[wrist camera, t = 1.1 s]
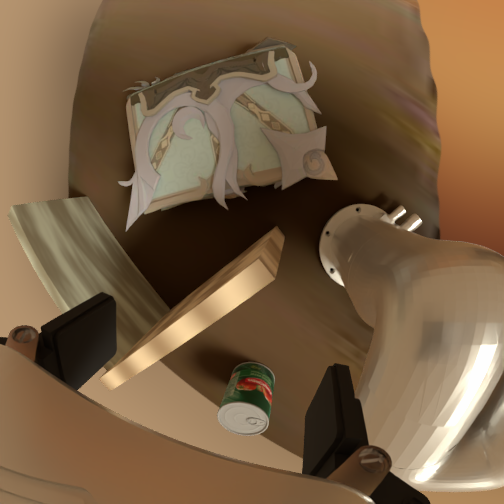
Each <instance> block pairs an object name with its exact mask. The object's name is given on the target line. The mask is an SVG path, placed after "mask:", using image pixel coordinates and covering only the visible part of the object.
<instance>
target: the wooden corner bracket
mask: <svg viewBox="0 0 504 504" xmlns="http://www.w3.org/2000/svg"><path fill="white" fill-rule="evenodd" d="M8 217H9V220H10V222H11V224H12V226H13V228H14V230H15V233H16V235H17V237H18V239H19V241H20V243H21V245H22V247H23V249H24V251H25V253H26V254H27V257H28V258H29V260H30V262H31V264H32V266H33V268H34V269H35V271H36V273H37V274H38V276H39V278H40V280H41V281H42V283H43V285H44V286H45V288H46V290H47V291H48V293H49V294H50V296H51V297H52V299H53V300H54V302H55V303H56V305H57V306H58V308H59V309H60V311H61V312H62V314H63V313H65V312H67V311H69V310H70V309H72V308H74V307H76V306H77V305H79V304H81V303H83V302H84V301H86V300H88V299H90V298H91V297H93V296H95V295H97V294H99V293H100V292H104V293H106V294H109V295H111V296H113V297H114V300H115V301H116V332H117V352H116V354H115V355H114V357H112V358H111V359H110V360H109V361H108V362H107V363H106V364H105V365H104V366H103V367H104V368H105V369H106V370H107V371H106V372H105V373H104V374H103V375H102V376H101V377H100V378H99V380H100V381H101V382H102V383H103V384H104V385H105V386H106V387H107V388H108V390H110V391H111V390H112V389H114V388H115V387H117V386H119V385H120V384H122V383H123V382H125V381H127V380H128V379H130V378H131V377H133V376H134V375H136V374H138V373H139V372H141V371H142V370H144V369H145V368H147V367H148V366H150V365H152V364H153V363H155V362H156V361H158V360H159V359H161V358H162V357H164V356H165V355H167V354H168V353H170V352H171V351H173V350H174V349H176V348H177V347H179V346H180V345H182V344H183V343H185V342H186V341H188V340H189V339H191V338H192V337H194V336H195V335H196V334H198V333H199V332H201V331H202V330H204V329H205V328H207V327H208V326H210V325H211V324H212V323H214V322H215V321H217V320H218V319H220V318H221V317H223V316H224V315H225V314H227V313H228V312H230V311H231V310H233V309H234V308H235V307H237V306H238V305H240V304H241V303H242V302H244V301H245V300H247V299H248V298H249V297H251V296H252V295H254V294H255V293H256V292H258V291H259V290H261V289H262V288H263V287H265V286H266V285H268V284H269V283H270V282H272V281H273V280H274V279H275V277H276V273H277V269H278V265H279V261H280V256H281V252H282V248H283V244H284V239H285V236H284V234H283V233H282V232H281V231H280V229H279V228H278V227H277V226H276V227H274V228H273V229H272V230H270V231H269V232H268V233H267V234H265V235H264V236H263V237H262V238H260V239H259V240H258V241H257V242H255V243H254V244H253V245H251V246H250V247H249V248H248V249H246V250H245V251H244V252H243V253H241V254H240V255H239V256H237V257H236V258H235V259H234V260H232V261H231V262H230V263H229V264H227V265H226V266H225V267H224V268H222V269H221V270H220V271H219V272H217V273H216V274H215V275H213V276H212V277H211V278H210V279H208V280H207V281H206V282H205V283H203V284H202V285H201V286H200V287H198V288H197V289H196V290H195V291H193V292H192V293H191V294H190V295H188V296H187V297H186V298H185V299H183V300H182V301H181V302H179V303H178V304H177V305H176V306H174V307H173V308H172V309H171V310H170V308H169V307H168V306H167V305H166V304H165V302H164V301H163V300H162V299H161V297H160V296H159V295H158V294H157V293H156V291H155V290H154V289H153V288H152V286H151V285H150V284H149V283H148V281H147V280H146V279H145V277H144V276H143V275H142V274H141V272H140V271H139V270H138V268H137V267H136V266H135V264H134V263H133V262H132V260H131V259H130V258H129V256H128V255H127V254H126V252H125V251H124V250H123V248H122V247H121V246H120V244H119V243H118V241H117V240H116V239H115V237H114V236H113V234H112V233H111V231H110V230H109V229H108V227H107V226H106V224H105V223H104V221H103V220H102V218H101V217H100V215H99V214H98V212H97V211H96V209H95V208H94V206H93V205H92V203H91V202H90V200H89V198H88V197H77V198H68V199H59V200H50V201H43V202H35V203H28V204H21V205H14V206H12V207H11V209H10V211H9V214H8Z"/></svg>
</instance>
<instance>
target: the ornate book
mask: <svg viewBox="0 0 504 504" xmlns="http://www.w3.org/2000/svg"><path fill="white" fill-rule="evenodd" d="M295 47H296V46H295V45H293V44H290V43H288V42H284V41H281V40H277V39H273V38H269V37H267V38H265V39H264V40H262V41H261V42H259V43H258V44H257V45H256V46H254V47H253V48H251V49H249V50H247V51H246V52H245V54H240V55H237V56H233V57H229V58H226V59H222V60H218V61H215V62H212V63H209V64H206V65H202V66H199V67H196V68H193V69H190V70H188V71H187V70H185V72H184V71H182V72H179V73H175V74H173V75H174V76H171V77H169V78H166V79H164V81H162V82H160V79H159V78H157V77H155V78H156V81H154V82H152V83H151V84H152V86H150V85H149V83H148V82H146V81H136V82H140V83H142V86H145V87H131V88H128V89H126V90H131V89H133V90H135V91H136V90H139V89H141V90H140V91H136V92H134V93H132V94H130V95H128V96H127V99H128V98H129V100H128V102H127V105H126V112H127V120H128V128H129V135H130V141H131V148H132V154H133V160H134V166H135V173H134V175H133V177H132V178H131V180H130V181H127V182H125V181H118V183H119V184H120V185H122V186H129V185H131V184H132V183H133V186H132V195H131V202H130V208H129V214H128V220H127V227H126V231H127V230H128V229H129V227H130V226H131V225H132V224H133V223H134V222H135V221H136V219H137V218H138V217H139V216H140V215H141V214H142V213H143V212H144V214H148V213H151V212H154V211H156V210H159V209H161V211H164V210H167V209H170V208H173V207H175V206H178V205H181V204H184V203H187V202H191V201H197V200H203V199H209V198H214V197H215V199H216V200H217V202H218V203H219V204H220V205H222V206H223V207H224V208H226V209H227V210H228V208H227V206H226V203H225V201H224V200H225V198H228V199H231V198H236V197H239V196H241V197H243V198H245V199H247V198H246V197H245V196H244V195H243V194H242V193H245V192H246V191H244V187H248V186H253V185H256V186H263V187H264V186H267V185H271V184H274V183H275V185H274V188H275V189H276V188H277V187H279V186H280V185H282V190H284V189H285V188H287V187H289V186H291V185H293V184H295V183H296V182H298V181H300V180H302V179H304V178H306V177H309V178H313V179H323V180H338V179H337V176H336V174H335V172H334V169H333V167H332V165H331V163H330V160H329V158H328V157H327V155H326V154H325V153H324V151H325V141H326V126H324V127H321V128H318V129H317V125H316V121H315V117H314V113H313V111H314V112H316V113H319V114H321V112H320V111H319V109H318V108H317V106H316V105H315V103H314V102H313V100H312V99H311V97H310V96H309V95H308V92H307V89H309V88H310V87H312V86H313V84H314V83H315V81H316V79H317V71H316V69H315V66H314V65H313V64H312V63H311V62H310V61H309V64H310V67H311V70H312V74H313V75H312V77H311V78H310V80H309V81H307V82H306V83H305V82H304V78H303V75H302V72H301V69H300V66H299V62H298V59H297V56H296V54H295V53H293V52H292V51H291V50H292V49H293V48H295ZM126 90H124V91H126ZM122 92H123V91H122ZM321 115H322V114H321ZM243 191H244V192H243Z"/></svg>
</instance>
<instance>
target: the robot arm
mask: <svg viewBox="0 0 504 504" xmlns="http://www.w3.org/2000/svg"><path fill="white" fill-rule="evenodd" d="M356 208H358V209H359V210H358V211H356ZM405 213H406V210H405V209H404V207H403V206H402V205H400V206H399V207H397V208H396V209H395V210H394V211H393V212H392V213H391V214H387V213H386V212H385V211H383V210H382V209H380V208H378V207H376V206H372V205H368V204H353V205H350V206H346V207H344V208H342V209H340V210H339V211H337V212H336V213H335V214H334V215H332V217H331V218H330V219H329V220H328V221H327V223H326V225H325V226H324V228H323V230H322V233H321V236H320V242H319V254H320V259H321V262H322V265H323V267H324V269H325V271H326V272H327V274H328V275H329V276H330V277H331V278H332V279H333V280H334V281H335V282H337V283H338V284H340V285H342V286H344V287H345V288H346V290H347V292H348V295H349V297H350V299H351V301H352V303H353V305H354V307H355V309H356V311H357V312H358V314H359V315H360V317H361V318H362V319H363V320H364V321H365V322H366V323H367V324H368V325H370V326H371V327H373V328H375V329H374V334H373V338H372V341H371V345H370V348H369V351H368V354H367V357H366V360H365V363H364V369H363V372H362V375H361V377H360V380H359V383H358V386H357V388H356V391H355V394H354V389H353V384H352V379H351V375H350V370H349V366H347V365H341V364H336V363H335V364H334V365H333V366H329V367H328V368H327V371H326V373H325V375H324V377H323V379H322V381H321V384H320V386H319V388H318V390H317V392H316V394H315V396H314V398H313V400H312V402H311V404H310V406H309V408H308V410H307V413H306V416H305V435H304V454H303V469H302V474H301V473H295V472H291V471H286V470H280V469H275V468H271V467H266V466H261V465H257V464H253V463H249V462H245V461H241V460H237V459H233V458H230V457H226V456H223V455H220V454H216V453H213V452H210V451H207V450H204V449H201V448H198V447H195V446H192V445H189V444H186V443H183V442H181V441H178V440H176V439H173V438H170V437H168V436H166V435H163V434H161V433H158V432H156V431H153V430H151V429H149V428H147V427H144V426H142V425H140V424H138V423H136V422H134V421H132V420H129V419H128V418H126V417H124V416H122V415H120V414H118V413H116V412H114V411H112V410H110V409H108V408H106V407H104V406H103V405H101V404H99V403H97V402H95V401H94V400H92V399H90V398H88V397H87V396H85V395H83V394H82V393H80V392H79V391H77V390H78V389H79V388H80V387H81V386H82V385H83V384H84V383H86V382H87V381H88V380H89V379H90V378H91V377H92V376H93V375H94V374H95V373H96V372H97V371H98V370H99V369H101V368H102V367H103V366H104V365H105V364H106V363H107V362H108V361H109V360H110V359H111V358H112V357H114V355H115V354H116V352H117V332H116V301H115V300H114V297H113V296H111V295H109V294H106V293H104V292H100V293H99V294H97V295H95V296H93V297H91V298H90V299H88V300H86V301H84V302H83V303H81V304H79V305H77V306H76V307H74V308H72V309H70V310H69V311H67V312H65V313H63V314H62V315H60V316H58V317H57V318H55V319H53V320H51V321H50V322H48V323H47V324H45V325H43V326H41V331H42V332H41V333H38V331H37V330H36V329H35V328H33V327H31V326H27V325H24V326H23V325H22V326H18V327H15V328H14V329H12V330H11V331H10V333H9V336H8V338H6V337H0V504H430V501H429V500H428V498H427V497H426V496H425V495H423V494H422V493H420V492H419V491H417V490H420V491H436V492H470V491H471V492H472V491H485V490H492V489H497V488H500V487H503V486H504V257H503V256H502V255H500V254H499V253H497V252H495V251H493V250H491V249H488V248H486V247H483V246H480V245H476V244H471V243H467V242H459V241H446V240H436V239H431V238H427V237H424V236H421V235H418V234H416V233H413V232H412V231H414V230H415V229H416V228H418V227H419V226H420V225H421V224H422V221H421V219H420V218H419V216H418V215H417V214H416V213H414V214H412V215H411V216H410V217H409V218H408V219H406V220H405V222H404V223H403V224H401V225H400V226H399V225H396V224H395V221H396V220H397V219H398V218H400V217H401V216H403V215H404V214H405ZM326 231H329V234H326ZM331 268H333V270H332V271H330V269H331Z"/></svg>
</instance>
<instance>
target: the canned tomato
mask: <svg viewBox="0 0 504 504" xmlns="http://www.w3.org/2000/svg"><path fill="white" fill-rule="evenodd" d="M274 383H275V377H274V374H273V372H272V371H271V370H270V369H269V368H268V367H266V366H265V365H263V364H260V363H257V362H245V363H242V364H239V365H238V366H236V367H235V369H234V370H233V372H232V376H231V378H230V381H229V383H228V386H227V389H226V392H225V395H224V397H223V400H222V403H221V405H220V408H219V410H218V414H217V417H218V421H219V422H220V424H221V425H222V426H223V427H224V428H226V429H227V430H228V431H230V432H232V433H235V434H238V435H244V436H251V435H257V434H260V433H262V432H263V431H265V430H266V429H267V427H268V425H269V417H270V410H271V404H272V397H273V389H274Z"/></svg>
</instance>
